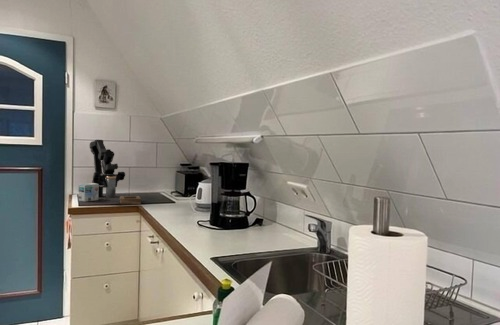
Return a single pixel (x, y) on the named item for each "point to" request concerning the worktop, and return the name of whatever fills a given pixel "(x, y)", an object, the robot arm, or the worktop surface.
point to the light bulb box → (88, 192)
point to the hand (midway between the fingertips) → (111, 186)
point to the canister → (111, 186)
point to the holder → (130, 200)
